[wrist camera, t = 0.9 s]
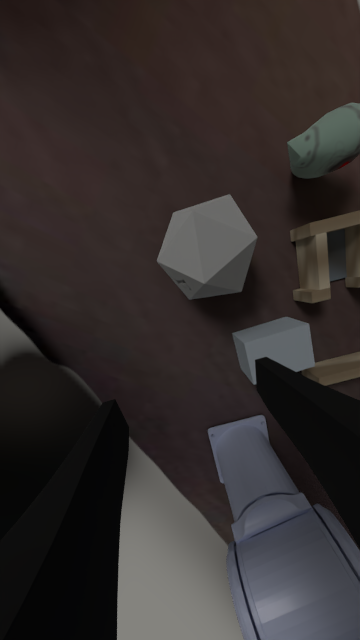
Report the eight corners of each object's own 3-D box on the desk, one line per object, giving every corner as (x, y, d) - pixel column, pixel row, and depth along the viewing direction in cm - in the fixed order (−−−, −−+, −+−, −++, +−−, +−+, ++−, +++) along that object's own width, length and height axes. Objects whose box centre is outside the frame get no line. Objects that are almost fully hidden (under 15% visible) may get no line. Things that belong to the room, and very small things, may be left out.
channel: (360, 359, 25) (385, 370, 22) (302, 374, 25) (319, 387, 22) (355, 214, 21) (385, 204, 18) (286, 231, 21) (305, 224, 18)
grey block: (291, 352, 25) (315, 366, 21) (240, 368, 25) (253, 384, 21) (285, 316, 23) (308, 323, 20) (231, 332, 24) (244, 343, 20)
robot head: (330, 133, 19) (413, 58, 13) (338, 175, 20) (420, 125, 14) (257, 167, 20) (302, 110, 13) (269, 207, 20) (317, 172, 14)
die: (156, 220, 21) (127, 268, 14) (229, 161, 16) (234, 193, 10) (197, 275, 25) (188, 331, 19) (263, 240, 21) (282, 298, 14)
